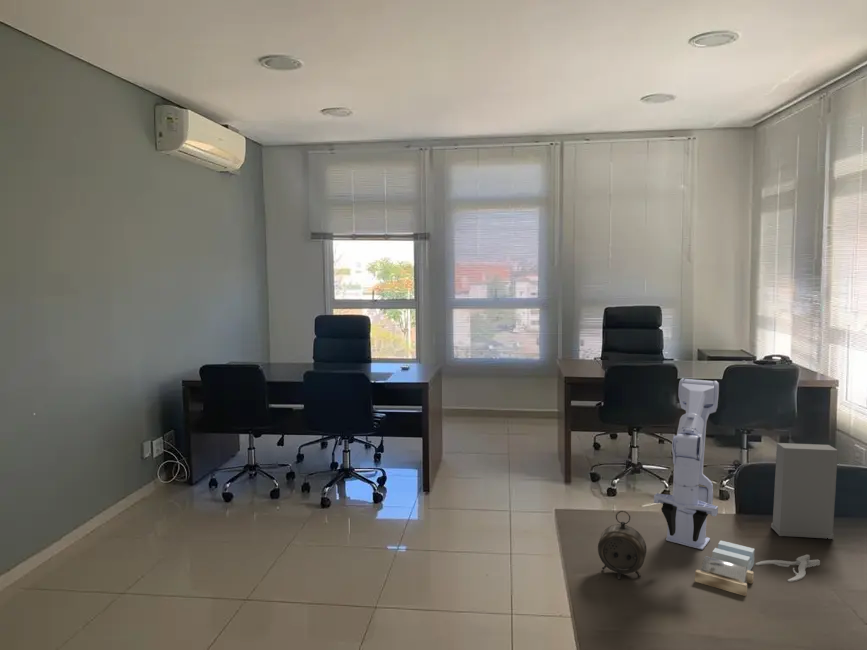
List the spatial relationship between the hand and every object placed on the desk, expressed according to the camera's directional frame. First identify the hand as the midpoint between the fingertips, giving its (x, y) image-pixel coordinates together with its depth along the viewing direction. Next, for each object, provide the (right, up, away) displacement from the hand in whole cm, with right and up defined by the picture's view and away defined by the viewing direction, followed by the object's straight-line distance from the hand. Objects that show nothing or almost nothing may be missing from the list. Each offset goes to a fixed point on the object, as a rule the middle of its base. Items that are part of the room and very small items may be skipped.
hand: (683, 537), depth 154 cm
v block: (+13, -8, +3) cm, 16 cm away
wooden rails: (+7, -9, -5) cm, 13 cm away
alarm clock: (-16, -9, -2) cm, 18 cm away
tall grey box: (+41, -7, +22) cm, 47 cm away
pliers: (+28, -9, +2) cm, 29 cm away
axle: (+7, -9, -5) cm, 13 cm away
